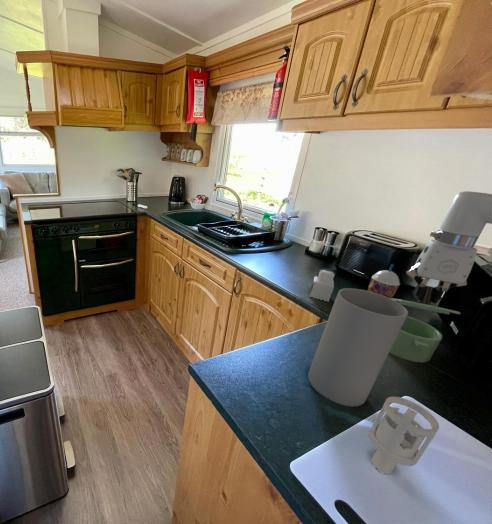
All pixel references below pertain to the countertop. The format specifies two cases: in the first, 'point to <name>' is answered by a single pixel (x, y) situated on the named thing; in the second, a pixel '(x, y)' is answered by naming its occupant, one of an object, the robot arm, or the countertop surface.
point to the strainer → (400, 435)
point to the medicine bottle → (323, 285)
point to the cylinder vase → (355, 345)
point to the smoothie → (384, 283)
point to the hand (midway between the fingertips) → (424, 299)
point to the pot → (416, 341)
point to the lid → (426, 303)
